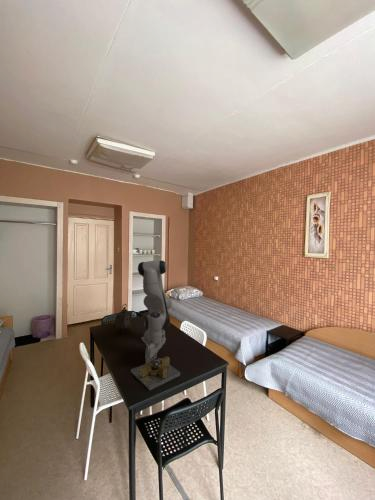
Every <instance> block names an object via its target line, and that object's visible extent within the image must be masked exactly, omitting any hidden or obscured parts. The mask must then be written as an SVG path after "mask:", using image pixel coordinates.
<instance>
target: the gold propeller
mask: <svg viewBox="0 0 375 500" xmlns="http://www.w3.org/2000/svg"><path fill="white" fill-rule="evenodd" d="M170 361H171V359H170V357H169V356H165V357H162V358H161V359H160V363H159V365H158V370H152V363H153V362H154V359H153V358H151V359H146V358H145V364H146V365H144V364H143V365H144V366H142V367H140V376H141V377H144V376H147V375H153V376H157V375H159V376H160V377H162V378H163V379H164V378H166V376H167V368H165V367H167V366H170V364H171V363H170Z"/></svg>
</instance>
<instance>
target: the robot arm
mask: <svg viewBox="0 0 375 500" xmlns="http://www.w3.org/2000/svg"><path fill="white" fill-rule="evenodd" d="M137 265H138V266H137V272H138V275H140V276H142V289H143V293H144V294H145V297H144V298H143V305H144V306H145V307H146V309H147V311H148V315H147V314H146V316H144V318H143V328H144V329H146V331H144V334H143V336H142V337H141V338H140V339H141V341H142V342H143V343H144V344H145V346H146V347H145V355H144V357H145V358H144V359H145V360H146V359H151V358H153V359H154V360H157V354H158V352H159V351H160V349H162V347H164V346H163V345H164V344H165V343H166V340H167V338H166V332H165V329H167V328H168V327H169V326H170V324H171V317H170V315H169V310H170V309H171V307H172V305H173V304H172V303H173V302H172V299H171V298H169V297H168V296H167V293H166V291H165V290H164V285H163V276H162V275H163V274H165V273H166V272H167V264H166V261H164V260H148V261H140V262H139V263H138V264H137Z"/></svg>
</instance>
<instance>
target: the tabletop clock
mask: <svg viewBox="0 0 375 500" xmlns="http://www.w3.org/2000/svg"><path fill="white" fill-rule="evenodd" d="M127 306H128V305H127V303H124V304H123V305H122V306H121V308H122V309H121V311H120V312H118V313H116V315H115V327H116V328H119V329H120V330H121V333H123V334H124V329H131V327H130V326H131V325H132V324H133V312H132V311H131V310H128V309H127Z"/></svg>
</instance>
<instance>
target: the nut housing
mask: <svg viewBox="0 0 375 500" xmlns="http://www.w3.org/2000/svg"><path fill="white" fill-rule="evenodd" d="M160 359H162V358H160V357H159V358H156V359H155V360H154V362H153V363H152V370H158V365H159V363H160ZM144 365H146V363H144V364H142V365H139V366H136V367H134V368H131V369H130V373H131V374H132V375H133V376H134V377H135V378H136V379H137V380H138V381H139V382H140V383H141V384H142V385H143V386H144V387H145V388H146V389H147V390H148V391H152V390H154V389H155V388H157V387H160V386H162V385H163V384H164V385H165V384H166V383H168V382H170V381H172V380H174V379H176V378H179V377H180V376H181V371H179V370H178V369H176V368H175V367H174V366H172V365H170V366H167V367H165V368H167V376H166V378H164V379H163V378H162V377H160V376H159V375H157V376H153V375H147V376H144V377H141V376H140V367H142V366H144Z"/></svg>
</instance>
